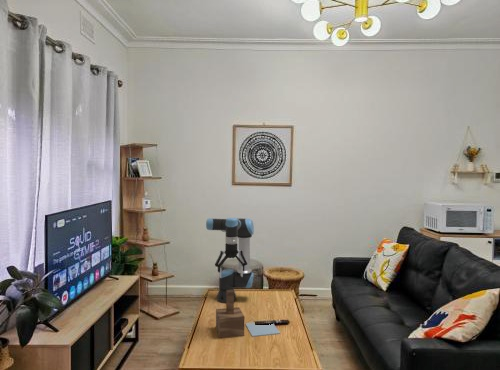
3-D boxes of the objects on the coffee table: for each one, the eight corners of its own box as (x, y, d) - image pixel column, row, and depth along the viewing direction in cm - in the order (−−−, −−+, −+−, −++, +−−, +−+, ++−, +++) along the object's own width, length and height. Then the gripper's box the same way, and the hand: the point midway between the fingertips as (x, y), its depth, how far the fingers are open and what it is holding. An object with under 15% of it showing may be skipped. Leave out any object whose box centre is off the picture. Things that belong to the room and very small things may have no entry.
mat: (245, 324, 235) (245, 323, 235) (271, 321, 240) (271, 320, 240) (252, 336, 218) (252, 335, 218) (280, 333, 222) (280, 332, 222)
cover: (215, 327, 230) (216, 287, 229) (238, 325, 234) (239, 286, 233) (219, 338, 215) (220, 295, 214) (244, 335, 219) (244, 294, 218)
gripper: (212, 245, 215) (212, 279, 216) (252, 243, 222) (251, 277, 223) (210, 242, 223) (210, 276, 224) (249, 241, 229) (248, 273, 230)
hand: (231, 276), depth 223 cm, fingers open, 13 cm apart
